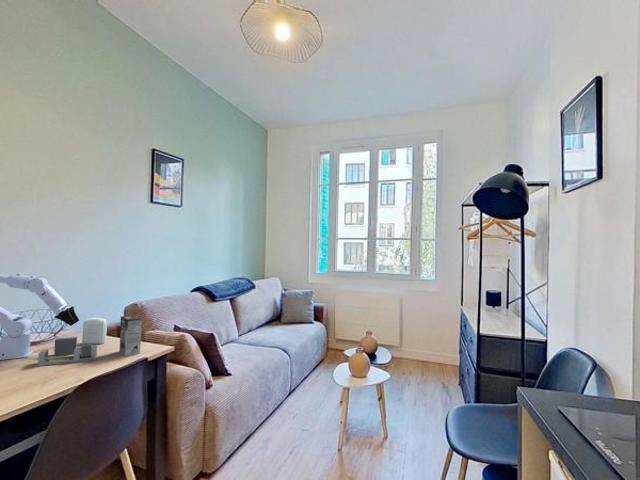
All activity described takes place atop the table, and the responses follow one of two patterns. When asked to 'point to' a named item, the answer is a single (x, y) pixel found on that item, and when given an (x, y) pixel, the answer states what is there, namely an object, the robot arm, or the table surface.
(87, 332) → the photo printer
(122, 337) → the coffee box
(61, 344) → the panel
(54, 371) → the table surface
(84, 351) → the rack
